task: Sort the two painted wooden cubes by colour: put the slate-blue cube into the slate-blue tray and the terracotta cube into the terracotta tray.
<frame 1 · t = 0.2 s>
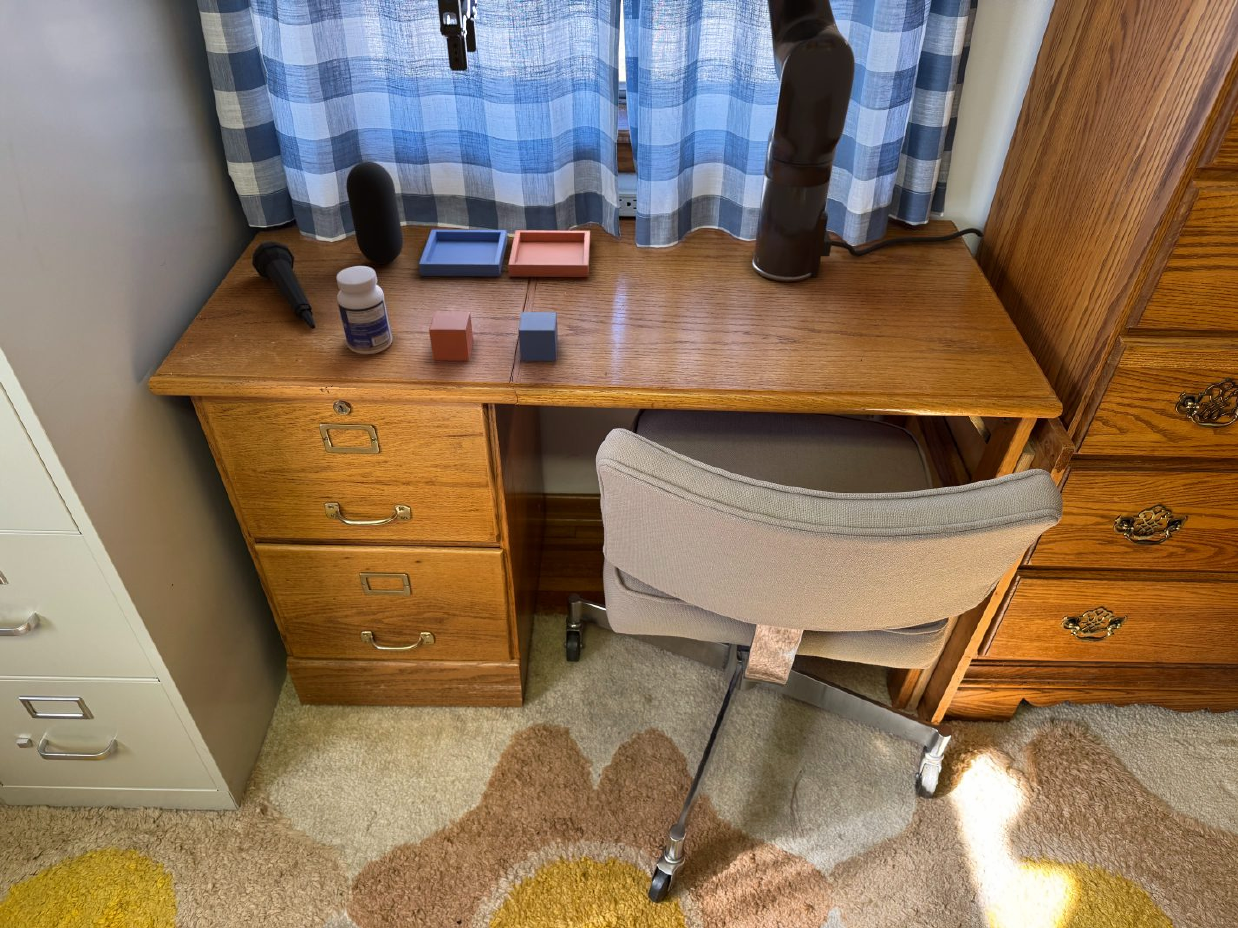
hand: (464, 60, 108), 29 cm above the table, tool pointing down, fingers open, 8 cm apart
terracotta tray: (551, 258, 129), on the table
blue cube: (539, 351, 109), on the table
decorative object: (384, 263, 128), on the table
microphone: (287, 300, 119), on the table
terracotta cube: (453, 351, 109), on the table
blue tray: (465, 258, 129), on the table
pill bottle: (370, 345, 110), on the table
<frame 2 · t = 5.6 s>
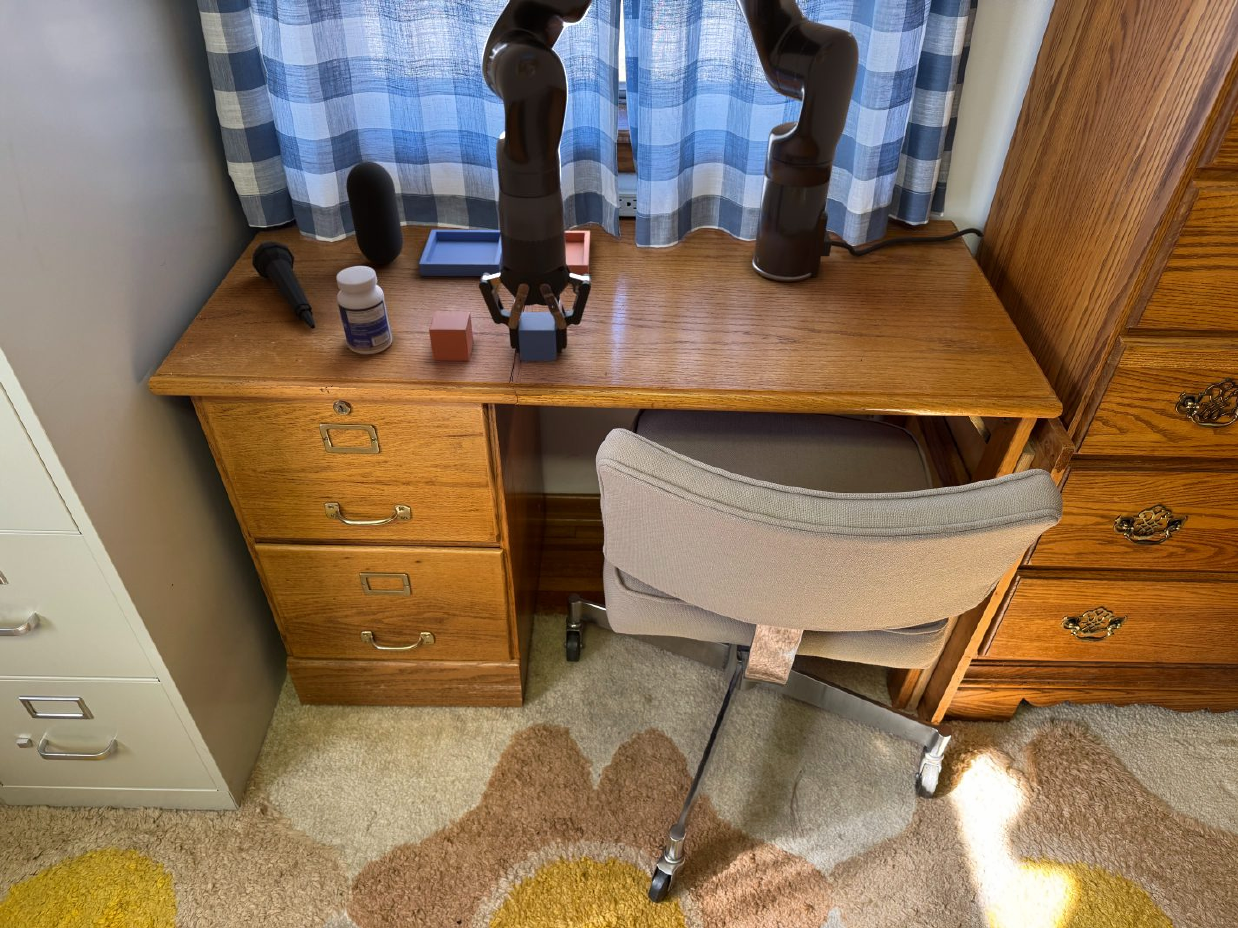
hand: (539, 349, 109), 0 cm above the table, tool pointing down, fingers closed on blue cube, 4 cm apart
blue cube: (539, 351, 109), on the table, touching gripper
everything else where it was.
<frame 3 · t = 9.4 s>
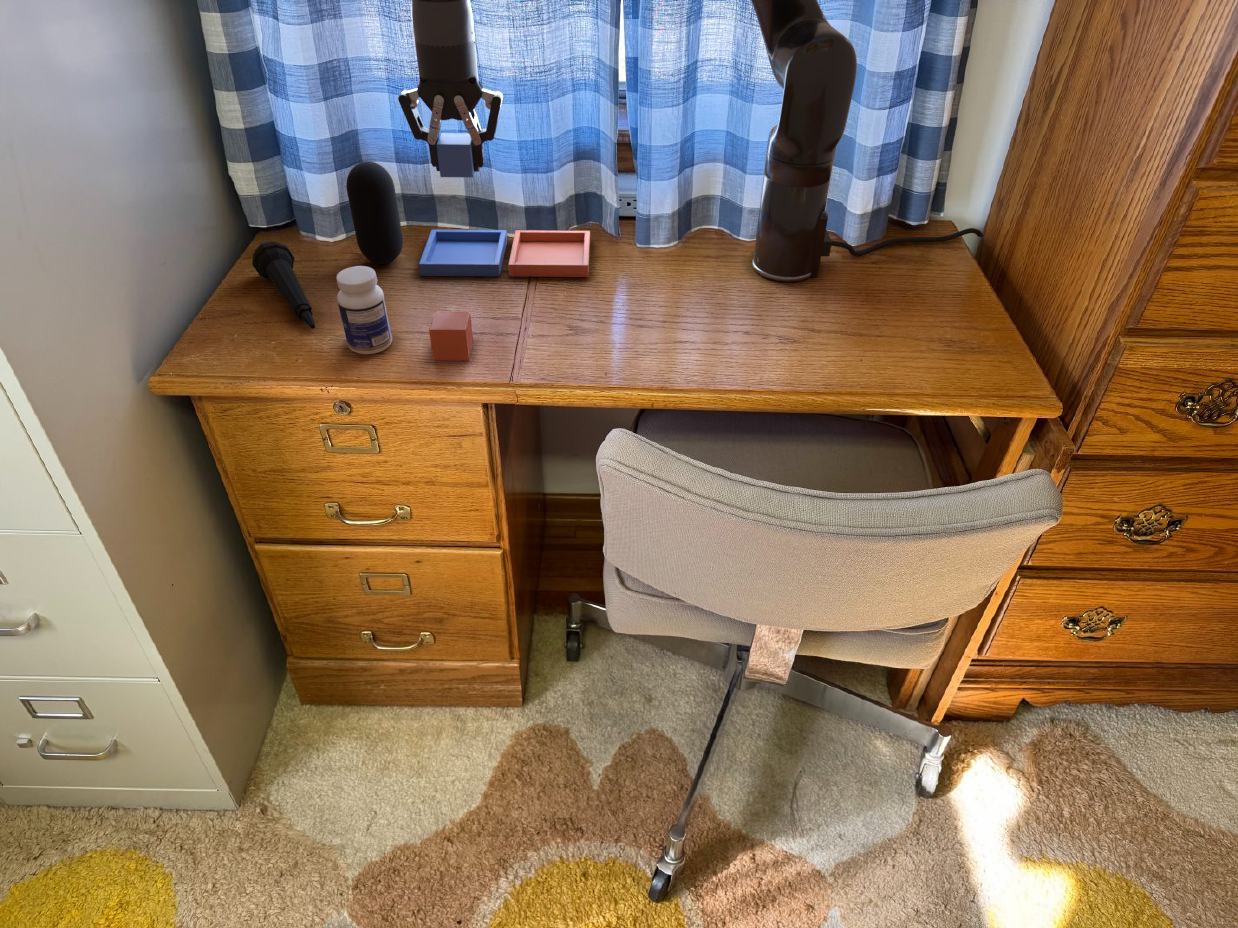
hand: (458, 169, 118), 15 cm above the table, tool pointing down, fingers closed on blue cube, 4 cm apart
blue cube: (459, 171, 118), point 14 cm above the table, touching gripper
everything else where it was.
when the fingers open (1 cm above the table, at t = 13.0 s): blue cube stays where it is, resting on blue tray.
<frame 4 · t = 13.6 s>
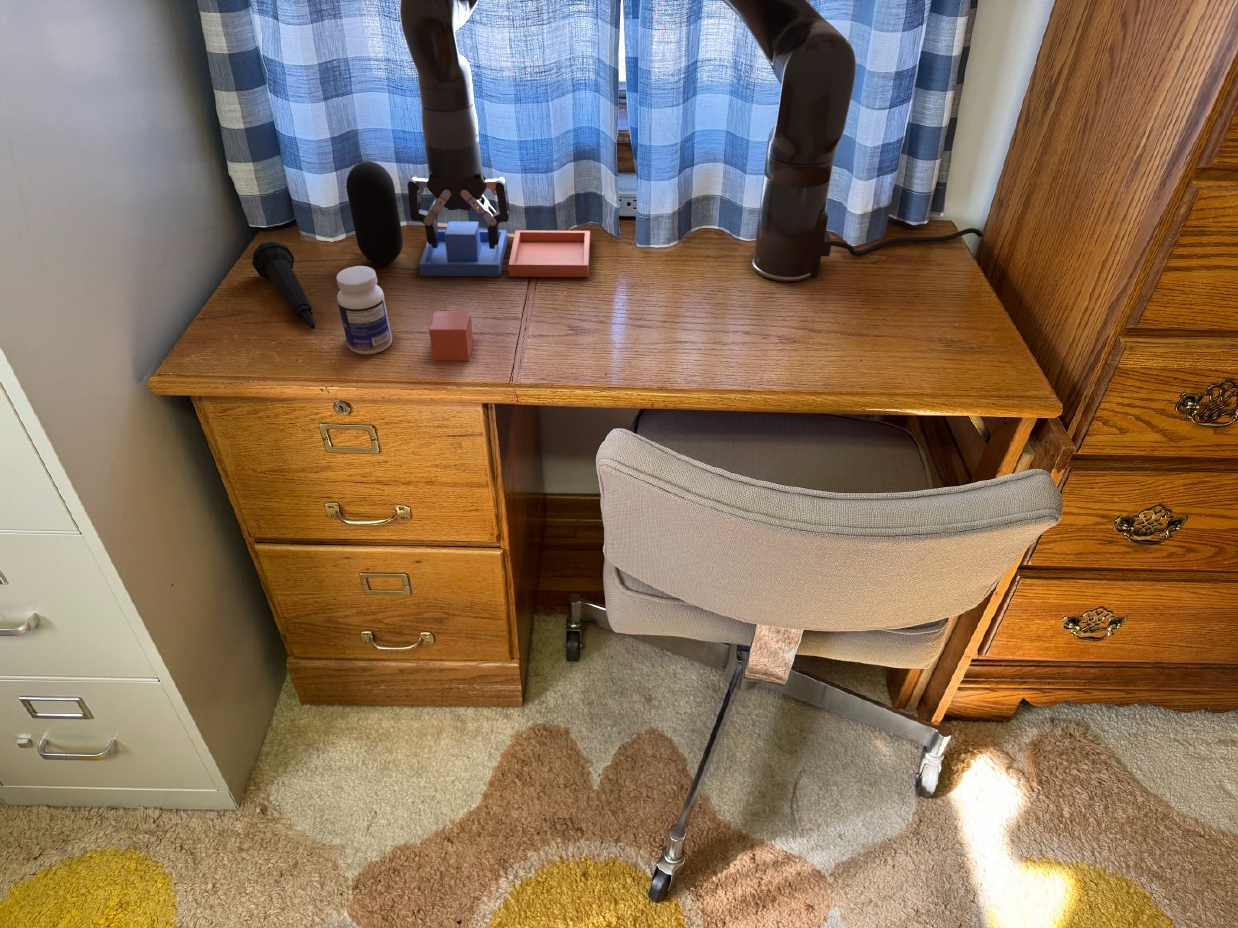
hand: (464, 246, 128), 2 cm above the table, tool pointing down, fingers open, 8 cm apart
blue cube: (464, 255, 129), resting on blue tray
everything else where it was.
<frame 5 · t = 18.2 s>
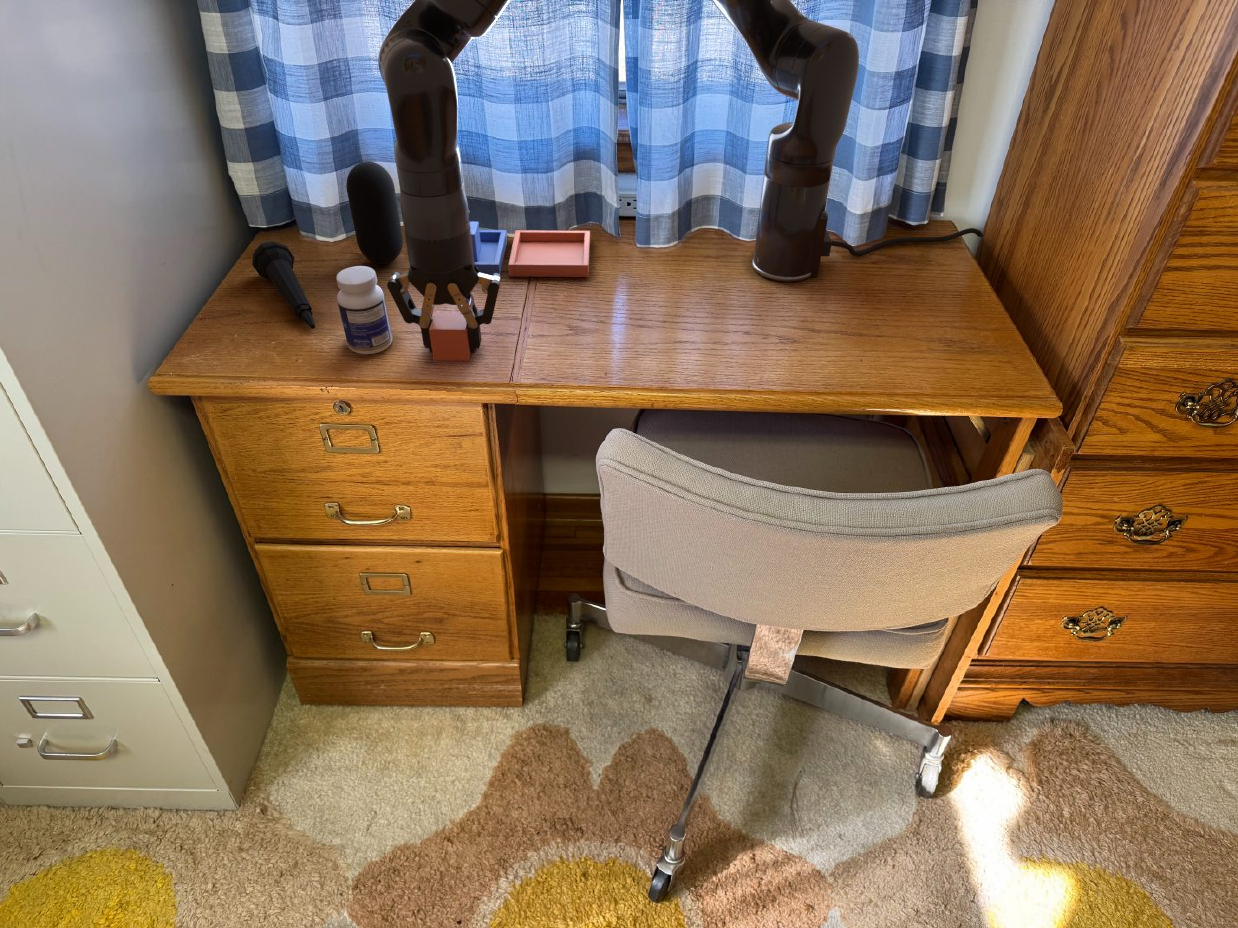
hand: (453, 348, 109), 0 cm above the table, tool pointing down, fingers closed on terracotta cube, 4 cm apart
terracotta cube: (453, 351, 109), on the table, touching gripper
everything else where it was.
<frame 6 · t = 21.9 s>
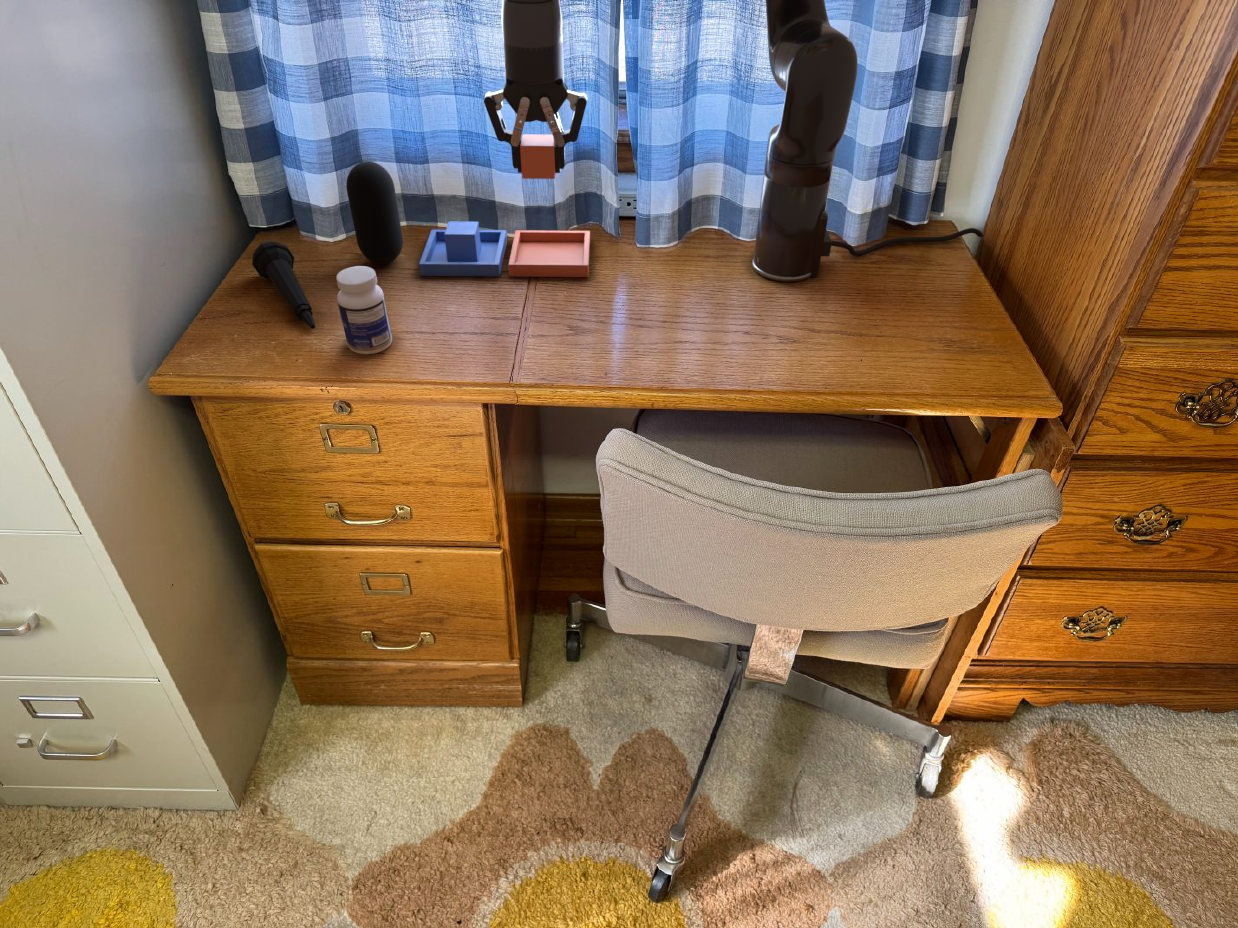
hand: (539, 170, 118), 14 cm above the table, tool pointing down, fingers closed on terracotta cube, 4 cm apart
terracotta cube: (539, 172, 118), point 14 cm above the table, touching gripper
everything else where it was.
when the fingers open (1 cm above the table, at t = 25.5 s): terracotta cube stays where it is, resting on terracotta tray.
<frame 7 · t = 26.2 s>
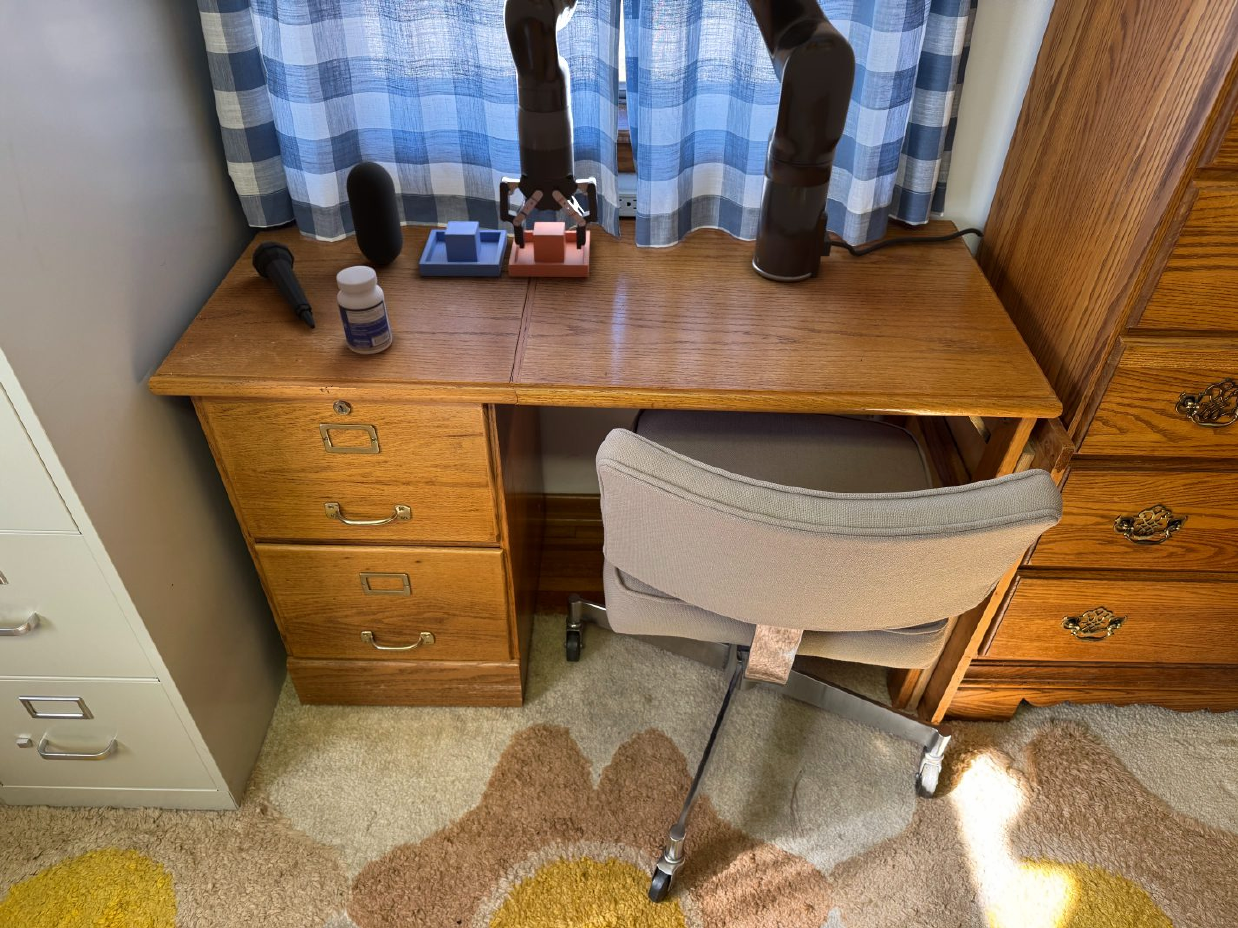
hand: (551, 247, 128), 2 cm above the table, tool pointing down, fingers open, 8 cm apart
terracotta cube: (550, 256, 129), resting on terracotta tray
everything else where it was.
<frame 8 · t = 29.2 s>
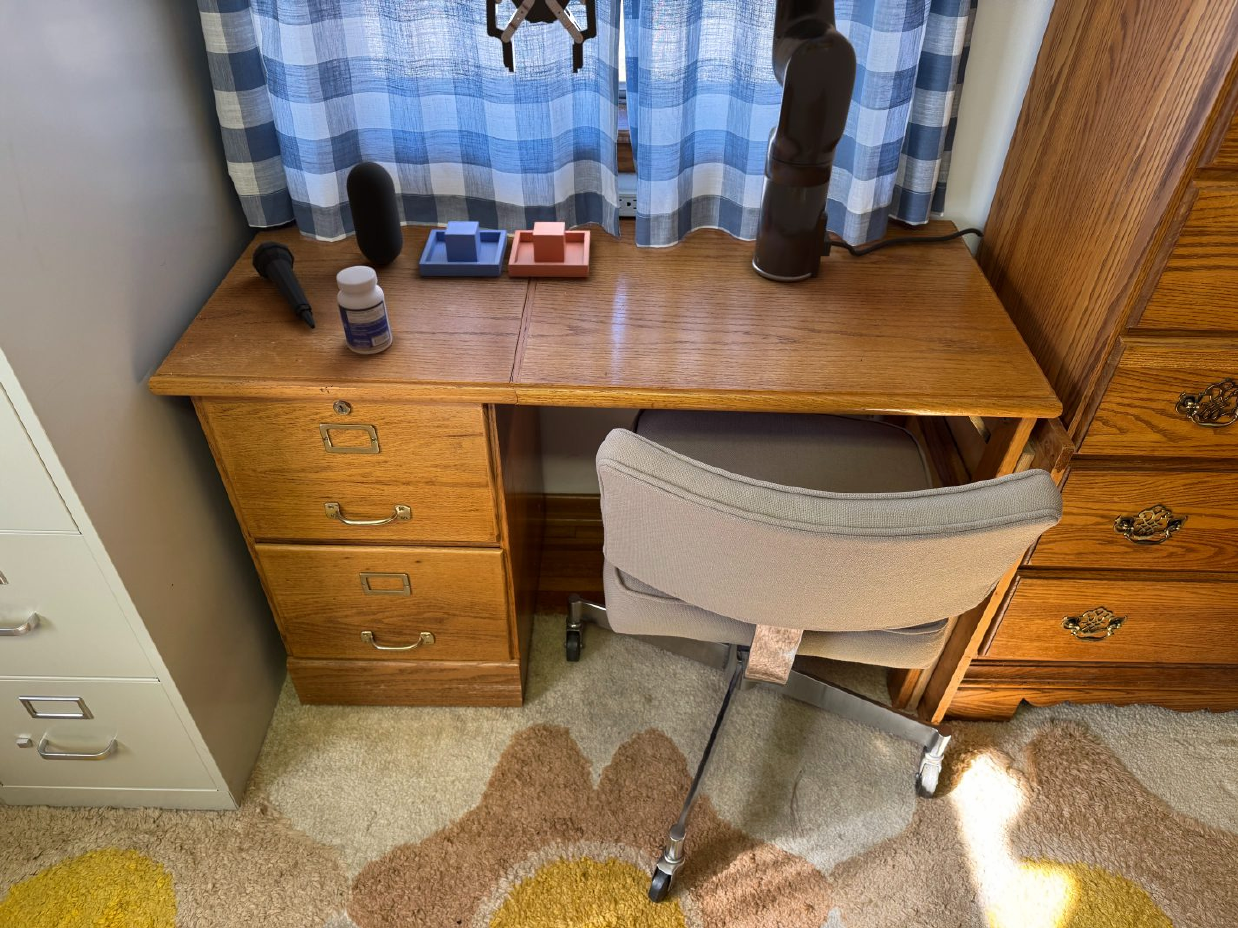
hand: (544, 71, 114), 26 cm above the table, tool pointing down, fingers open, 8 cm apart
nothing on the table moved.
at the end: blue cube inside the target area in the blue tray (0.1 cm from its centre), point 0.4 cm above the blue tray's base; terracotta cube inside the target area in the terracotta tray (0.1 cm from its centre), point 0.4 cm above the terracotta tray's base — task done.
